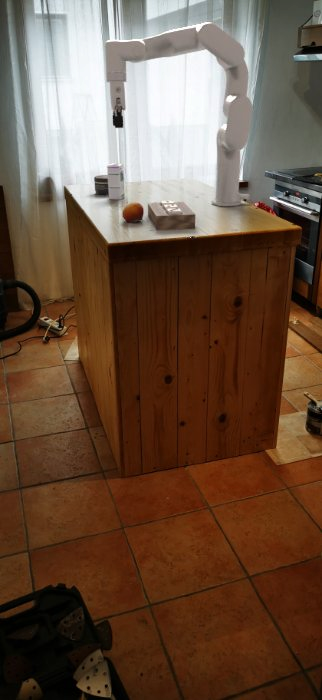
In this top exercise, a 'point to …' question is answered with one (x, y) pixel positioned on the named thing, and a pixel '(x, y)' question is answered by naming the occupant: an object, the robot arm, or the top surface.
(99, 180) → the jar
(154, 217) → the wooden slot board
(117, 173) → the syrup box
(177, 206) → the button
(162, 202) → the button
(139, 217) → the fruit
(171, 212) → the button
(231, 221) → the top surface
